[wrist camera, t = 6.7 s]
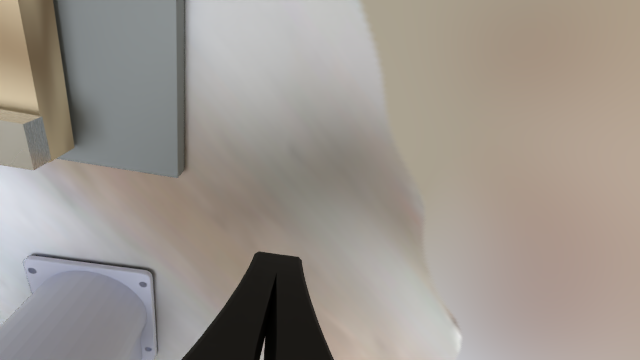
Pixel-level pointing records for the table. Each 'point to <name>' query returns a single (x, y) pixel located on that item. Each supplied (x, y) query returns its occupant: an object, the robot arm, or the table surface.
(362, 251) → the table surface
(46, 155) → the steel keeper
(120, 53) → the slate board
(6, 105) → the beech link
